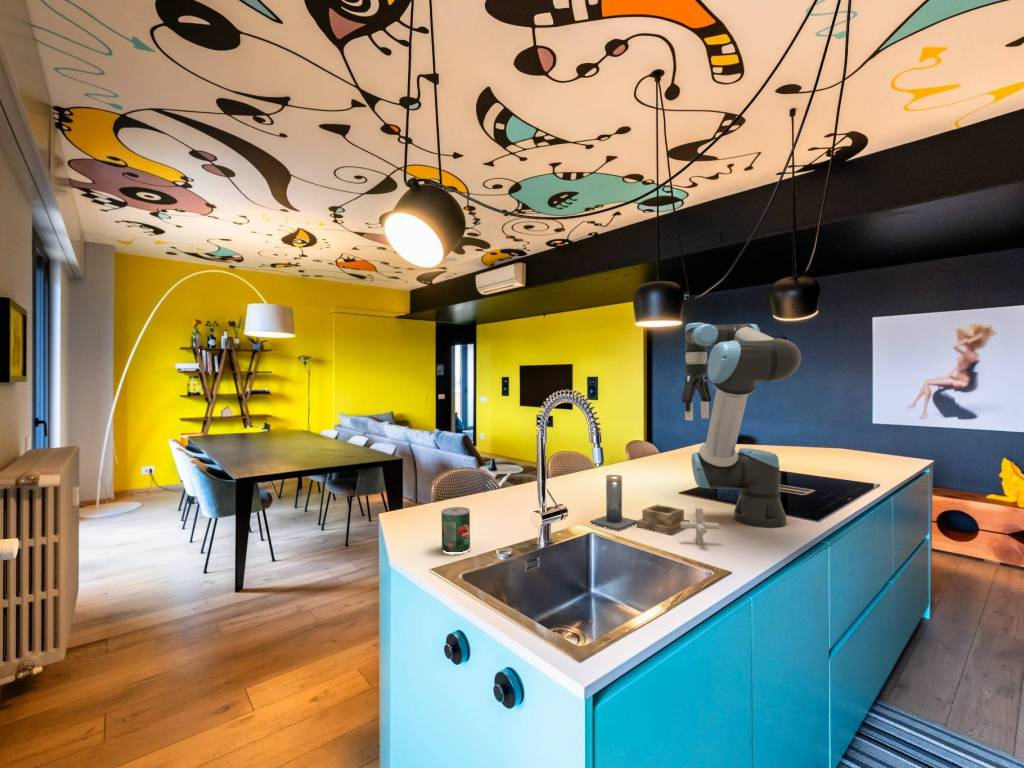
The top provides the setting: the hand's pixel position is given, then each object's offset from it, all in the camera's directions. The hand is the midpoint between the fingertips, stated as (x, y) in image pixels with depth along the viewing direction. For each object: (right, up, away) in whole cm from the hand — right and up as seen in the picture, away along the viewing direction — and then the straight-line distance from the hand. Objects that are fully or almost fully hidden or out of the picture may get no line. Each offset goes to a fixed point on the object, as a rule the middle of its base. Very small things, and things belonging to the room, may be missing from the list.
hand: (697, 419), depth 178 cm
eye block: (-23, -32, -30) cm, 50 cm away
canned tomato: (-86, -33, -49) cm, 105 cm away
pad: (-38, -32, -26) cm, 56 cm away
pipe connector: (-18, -32, -46) cm, 59 cm away
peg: (-38, -31, -26) cm, 55 cm away
